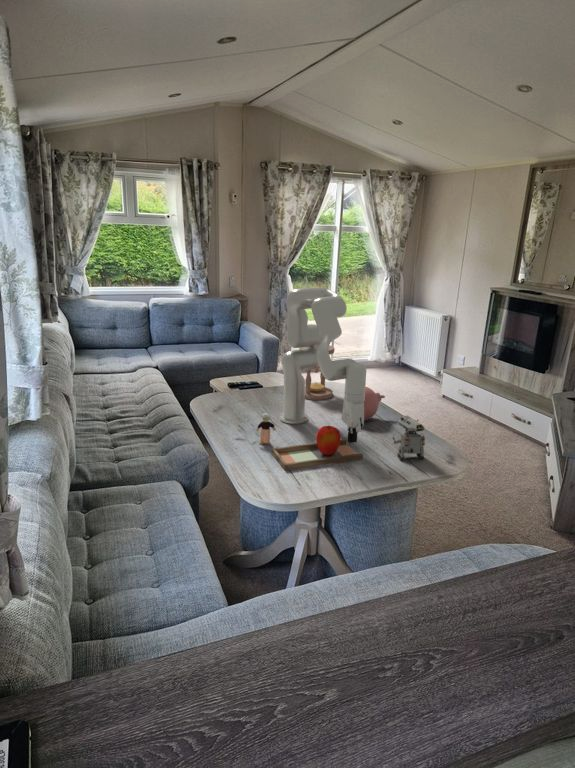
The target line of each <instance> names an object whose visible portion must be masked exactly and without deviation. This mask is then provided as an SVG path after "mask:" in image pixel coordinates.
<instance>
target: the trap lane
mask: <svg viewBox="0 0 575 768" xmlns="http://www.w3.org/2000/svg"><path fill="white" fill-rule="evenodd" d="M347 442H348V439H346V438H344V439H342V438H341V441H340V445H339V447H338V449H337V452H336V453H335V454H333V455H331V456H326V455H323V454H322V453H321V452H320V451H319V448H318V446H317V442H313V443H305V444H296V445H288V446H281V447H273V448H271V455H272V456H273V457H274V459H275V460H276V461H277V462H278V464H279V465H280V466H281V468H282V469H283V471H285V472H286V471H293V470H298V469H299V470H300V469H306V468H313V467H319V466H326V465H334V464H341V463H346V462H348V463H349V462H354V461H361V460H363V459H364V454H363V452H360V453H357V452H356V451H355V450H354V449H352V448H351V447H350V446H349V445H347Z"/></svg>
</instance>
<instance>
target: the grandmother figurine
mask: <svg viewBox="0 0 575 768" xmlns="http://www.w3.org/2000/svg"><path fill="white" fill-rule="evenodd" d="M261 419H262V421H261V422H260V423H259V424H258V425H257V427H256V429H255V430H256V432H259V430H260V437H259V442H258V445H264V444H265V445H270V444H271V442H270V440H271V429H272V430H273V431H276V427H275V424H274V423H272V422H271V421H270V419H271V416H270V414H269V413H267V412H265V413H263V414H262V416H261ZM270 428H271V429H270Z"/></svg>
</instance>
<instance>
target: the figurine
mask: <svg viewBox="0 0 575 768" xmlns="http://www.w3.org/2000/svg"><path fill="white" fill-rule="evenodd" d="M397 424H398V426H400V427H402V428H404V429H405V430H404V431H405V432H404V433H401V434H400V439H398V440H396V439H395V436H394V435H393V436H392V440H393V444H394V445H397V444H400V445H399V447H398V451H397V455H396V456H397V458H398V459H399V461H405V454H407V455H408V454H410V455H414V454H416V456H417V457H418V458H419V460H424V459H425V456H424V454H425V449H424V447H425V445H426V444H425V443H426V442H425V440H426V438H425V437H426V436H425V435H424V434H423V433H421V434H419V433H418V432H423V431H425V426H424V425H423V424H421V423H420V422H419V419H417V420H416V419H414V418H412V417H411V416H410V415H402V416H401V418H399V419H398V421H397Z"/></svg>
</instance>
